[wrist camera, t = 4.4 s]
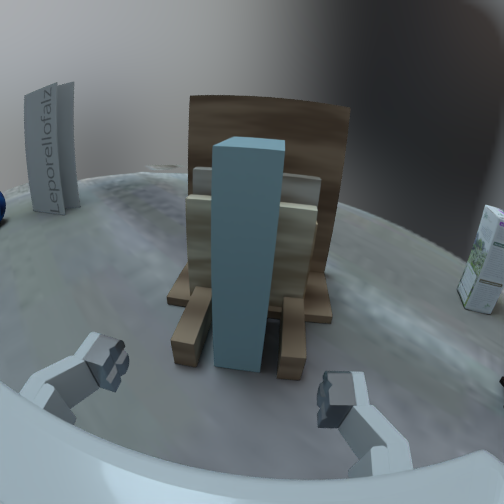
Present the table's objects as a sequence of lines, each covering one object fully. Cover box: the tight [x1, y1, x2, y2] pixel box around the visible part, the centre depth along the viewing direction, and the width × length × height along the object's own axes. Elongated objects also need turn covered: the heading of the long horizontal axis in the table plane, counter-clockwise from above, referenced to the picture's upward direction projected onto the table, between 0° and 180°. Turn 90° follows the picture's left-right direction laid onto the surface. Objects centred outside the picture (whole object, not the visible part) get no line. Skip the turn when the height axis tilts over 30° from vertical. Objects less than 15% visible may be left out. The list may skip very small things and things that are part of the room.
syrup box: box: [457, 205, 504, 314], centre depth 29 cm, size 6×6×14 cm
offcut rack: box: [167, 95, 350, 380], centre depth 26 cm, size 19×18×22 cm
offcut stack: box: [186, 167, 321, 307], centre depth 29 cm, size 5×13×13 cm, turn 84°
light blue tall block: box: [211, 137, 285, 372], centre depth 22 cm, size 7×4×18 cm, turn 174°
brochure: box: [24, 82, 80, 215], centre depth 49 cm, size 14×6×30 cm, turn 77°
